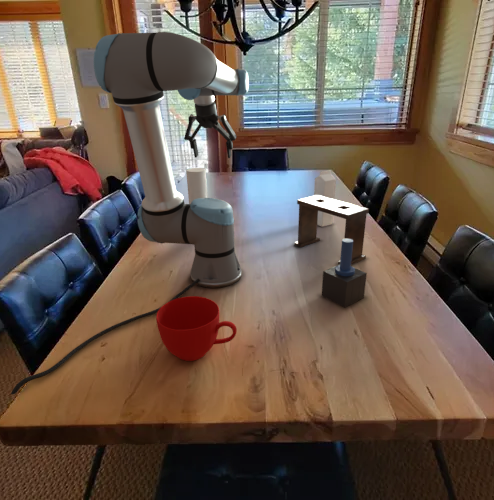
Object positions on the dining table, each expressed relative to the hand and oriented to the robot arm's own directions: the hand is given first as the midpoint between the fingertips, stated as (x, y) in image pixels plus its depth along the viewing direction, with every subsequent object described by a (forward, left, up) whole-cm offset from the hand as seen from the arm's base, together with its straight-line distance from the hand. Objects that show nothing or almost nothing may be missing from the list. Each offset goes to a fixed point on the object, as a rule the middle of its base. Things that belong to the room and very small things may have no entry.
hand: (213, 156), depth 148 cm
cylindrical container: (-12, -7, -28) cm, 31 cm away
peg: (-7, -74, -20) cm, 77 cm away
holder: (-7, -74, -28) cm, 79 cm away
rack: (+13, -51, -28) cm, 60 cm away
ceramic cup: (-49, -70, -28) cm, 90 cm away
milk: (+33, -30, -28) cm, 53 cm away
